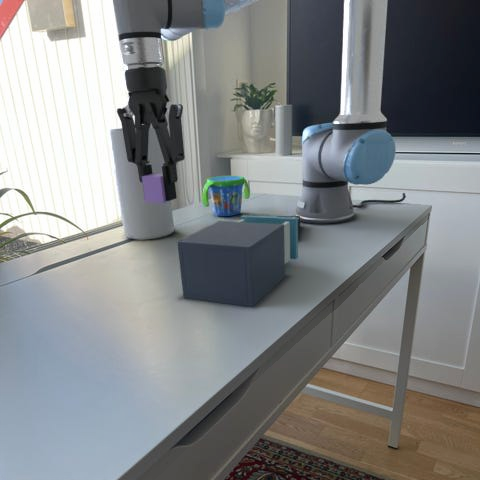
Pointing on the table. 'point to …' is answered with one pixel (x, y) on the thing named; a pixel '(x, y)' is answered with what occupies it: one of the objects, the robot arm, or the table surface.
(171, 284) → the table surface
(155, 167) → the cylinder vase
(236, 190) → the snack cup
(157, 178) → the purple block
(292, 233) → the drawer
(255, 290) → the slate grey box
